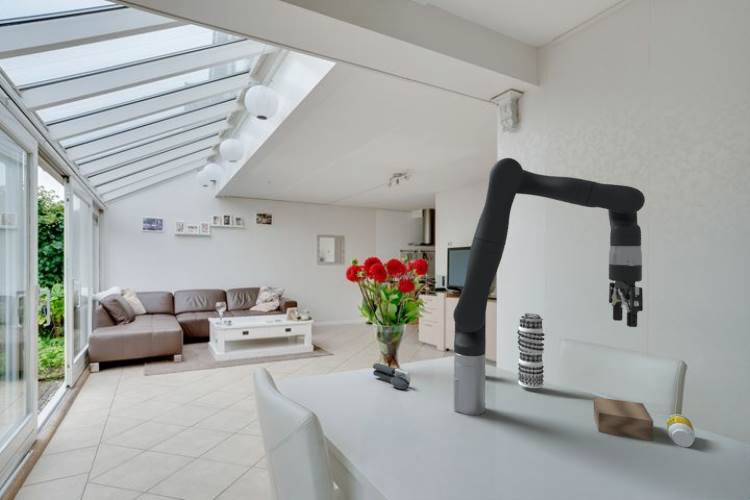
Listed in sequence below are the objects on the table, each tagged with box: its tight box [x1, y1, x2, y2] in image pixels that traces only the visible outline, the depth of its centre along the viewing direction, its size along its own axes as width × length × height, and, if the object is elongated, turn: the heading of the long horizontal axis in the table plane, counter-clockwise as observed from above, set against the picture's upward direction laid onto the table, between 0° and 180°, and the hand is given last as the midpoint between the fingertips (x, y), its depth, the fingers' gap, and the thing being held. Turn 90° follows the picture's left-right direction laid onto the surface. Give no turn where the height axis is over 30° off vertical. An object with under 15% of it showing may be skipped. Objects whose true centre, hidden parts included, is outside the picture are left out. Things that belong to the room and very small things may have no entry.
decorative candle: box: [516, 312, 546, 389], centre depth 142 cm, size 9×9×25 cm
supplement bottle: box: [666, 413, 696, 448], centre depth 100 cm, size 5×5×10 cm
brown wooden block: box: [593, 396, 654, 441], centre depth 107 cm, size 12×12×6 cm
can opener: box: [372, 362, 411, 390], centre depth 145 cm, size 19×6×5 cm, turn 38°
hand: (624, 323), depth 106 cm, fingers open, 8 cm apart
